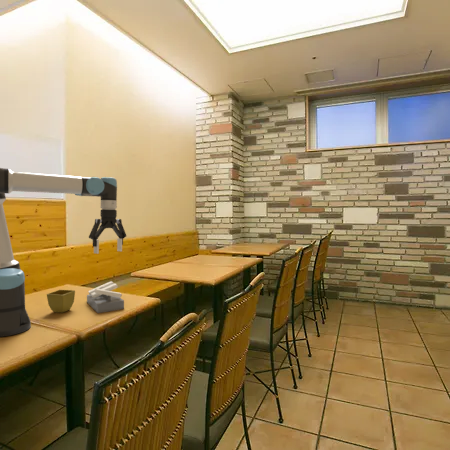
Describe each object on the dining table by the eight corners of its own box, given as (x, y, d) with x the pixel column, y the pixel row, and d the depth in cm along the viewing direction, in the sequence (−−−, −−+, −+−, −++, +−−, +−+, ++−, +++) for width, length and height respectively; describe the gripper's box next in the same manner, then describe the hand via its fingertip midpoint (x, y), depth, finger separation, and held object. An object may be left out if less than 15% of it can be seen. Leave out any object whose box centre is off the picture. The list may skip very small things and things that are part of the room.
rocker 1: (90, 295, 164) (89, 292, 164) (89, 293, 167) (88, 291, 166) (114, 284, 170) (113, 282, 170) (112, 283, 173) (111, 281, 173)
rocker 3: (95, 293, 153) (96, 289, 153) (94, 291, 156) (95, 288, 156) (120, 297, 159) (121, 294, 160) (118, 296, 162) (119, 292, 162)
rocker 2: (93, 298, 159) (92, 295, 158) (92, 296, 161) (91, 293, 161) (117, 287, 165) (116, 284, 165) (115, 286, 168) (114, 283, 167)
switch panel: (97, 313, 151) (97, 300, 151) (87, 302, 169) (86, 290, 169) (124, 308, 158) (123, 296, 157) (111, 299, 176) (110, 287, 175)
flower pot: (63, 314, 149) (63, 294, 149) (46, 313, 151) (46, 293, 150) (76, 309, 158) (75, 290, 157) (59, 308, 159) (59, 289, 159)
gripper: (90, 208, 151) (90, 254, 151) (133, 209, 172) (133, 250, 172) (81, 208, 155) (80, 253, 155) (124, 209, 176) (123, 250, 176)
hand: (108, 252), depth 164 cm, fingers open, 13 cm apart
